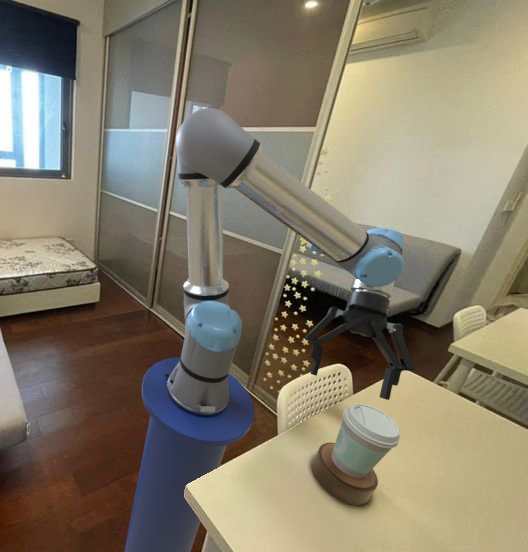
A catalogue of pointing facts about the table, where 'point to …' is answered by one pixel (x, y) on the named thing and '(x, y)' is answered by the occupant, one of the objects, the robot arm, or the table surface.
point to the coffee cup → (363, 439)
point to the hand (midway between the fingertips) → (347, 386)
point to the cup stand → (341, 478)
